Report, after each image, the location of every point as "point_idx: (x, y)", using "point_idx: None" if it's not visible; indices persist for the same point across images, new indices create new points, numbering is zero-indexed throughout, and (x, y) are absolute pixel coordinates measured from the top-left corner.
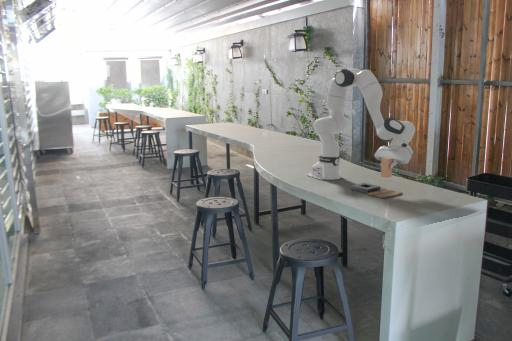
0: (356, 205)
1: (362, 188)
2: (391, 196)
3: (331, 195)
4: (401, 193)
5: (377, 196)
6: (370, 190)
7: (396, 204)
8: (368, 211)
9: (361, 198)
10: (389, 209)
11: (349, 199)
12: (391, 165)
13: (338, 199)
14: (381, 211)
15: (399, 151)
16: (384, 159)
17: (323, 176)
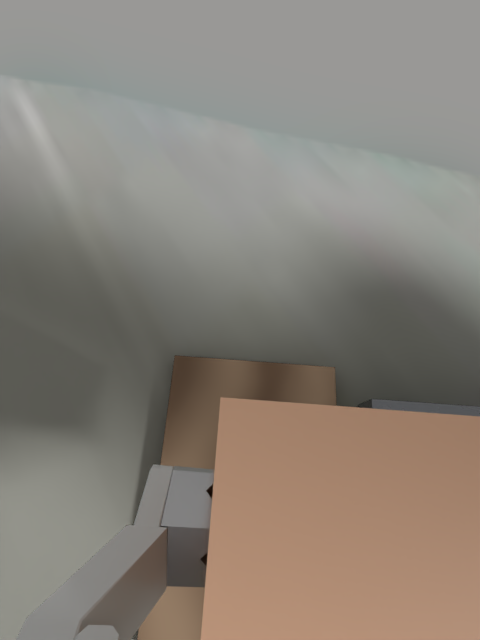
0: (233, 150)
1: (427, 403)
2: (164, 447)
3: (470, 218)
4: (140, 630)
5: (243, 363)
6: None
7: (55, 307)
8: (127, 109)
9: (307, 278)
10: (51, 193)
11: (339, 215)
12: (147, 489)
13: (379, 179)
14: (73, 142)
15: None
16: (363, 410)
17: None
